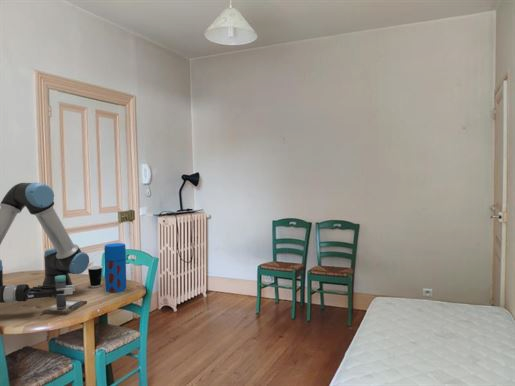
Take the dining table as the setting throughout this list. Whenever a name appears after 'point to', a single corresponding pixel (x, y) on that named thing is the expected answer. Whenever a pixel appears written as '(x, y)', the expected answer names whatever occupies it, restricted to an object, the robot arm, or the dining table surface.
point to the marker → (60, 298)
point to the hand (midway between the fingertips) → (73, 289)
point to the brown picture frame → (70, 307)
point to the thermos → (115, 267)
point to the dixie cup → (95, 275)
